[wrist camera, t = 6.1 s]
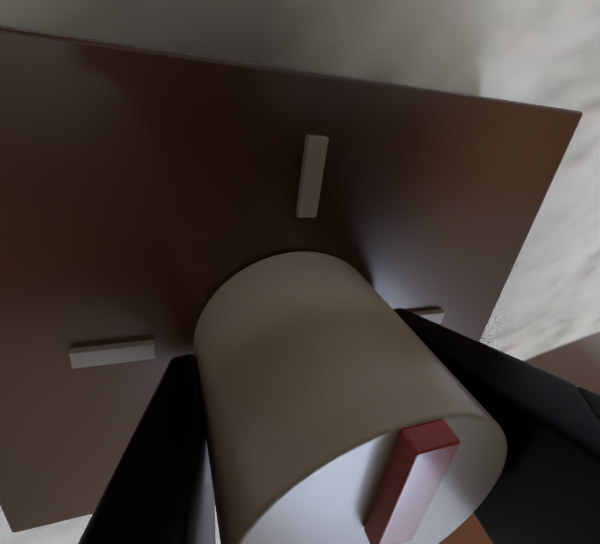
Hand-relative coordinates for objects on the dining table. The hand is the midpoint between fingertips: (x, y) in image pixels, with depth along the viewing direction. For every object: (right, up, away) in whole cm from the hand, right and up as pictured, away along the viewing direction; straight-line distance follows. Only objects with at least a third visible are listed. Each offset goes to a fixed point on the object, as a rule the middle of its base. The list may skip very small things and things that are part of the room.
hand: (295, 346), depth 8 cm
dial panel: (-1, +2, +3) cm, 4 cm away
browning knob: (0, 0, 0) cm, 0 cm away
